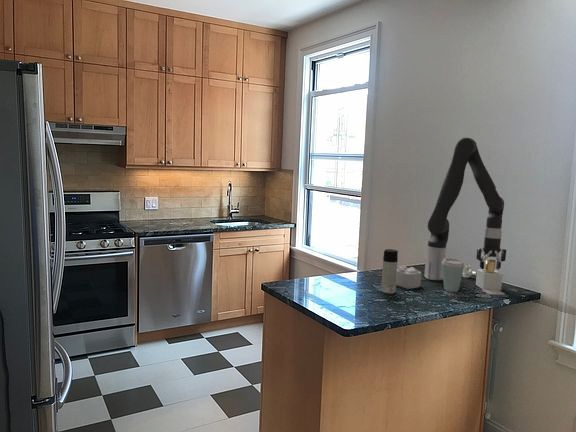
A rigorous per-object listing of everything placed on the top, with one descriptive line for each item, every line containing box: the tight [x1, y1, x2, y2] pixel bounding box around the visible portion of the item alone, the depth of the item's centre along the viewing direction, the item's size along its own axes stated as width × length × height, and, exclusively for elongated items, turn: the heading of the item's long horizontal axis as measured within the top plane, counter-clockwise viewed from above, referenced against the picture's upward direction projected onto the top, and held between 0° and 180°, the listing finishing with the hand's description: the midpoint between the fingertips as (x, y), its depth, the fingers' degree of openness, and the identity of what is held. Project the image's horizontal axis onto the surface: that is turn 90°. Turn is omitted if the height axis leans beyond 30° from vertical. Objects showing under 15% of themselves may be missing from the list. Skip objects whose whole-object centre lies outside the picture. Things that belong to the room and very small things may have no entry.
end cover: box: [484, 258, 497, 273], centre depth 238 cm, size 4×4×11 cm
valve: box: [462, 264, 477, 279], centre depth 255 cm, size 7×7×12 cm
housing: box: [475, 268, 504, 291], centre depth 239 cm, size 9×9×8 cm
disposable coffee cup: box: [442, 257, 466, 293], centre depth 231 cm, size 11×11×15 cm
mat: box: [482, 289, 506, 296], centre depth 230 cm, size 8×7×1 cm
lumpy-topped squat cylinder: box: [396, 265, 422, 290], centre depth 239 cm, size 10×13×9 cm
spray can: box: [380, 248, 399, 294], centre depth 224 cm, size 7×7×20 cm
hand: (489, 269), depth 238 cm, fingers open, 7 cm apart
